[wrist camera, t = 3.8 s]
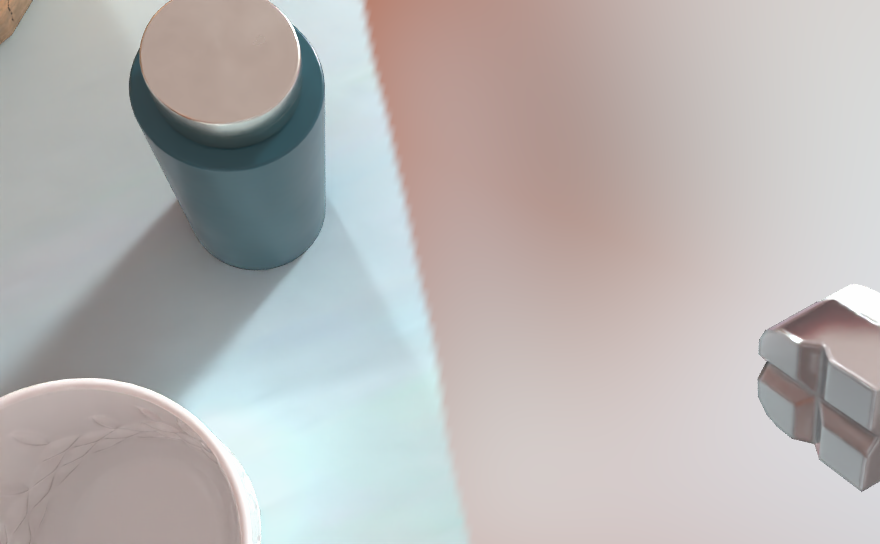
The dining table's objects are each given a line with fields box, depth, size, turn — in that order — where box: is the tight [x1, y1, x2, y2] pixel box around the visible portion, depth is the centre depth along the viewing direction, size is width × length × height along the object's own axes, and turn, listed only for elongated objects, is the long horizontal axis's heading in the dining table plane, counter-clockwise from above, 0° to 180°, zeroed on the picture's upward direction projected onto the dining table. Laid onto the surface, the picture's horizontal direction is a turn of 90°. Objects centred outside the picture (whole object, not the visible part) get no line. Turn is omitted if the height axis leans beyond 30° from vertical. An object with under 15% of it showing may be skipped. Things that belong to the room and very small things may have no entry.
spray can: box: [129, 0, 325, 270], centre depth 24 cm, size 5×5×11 cm
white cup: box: [0, 378, 261, 544], centre depth 21 cm, size 8×8×10 cm
